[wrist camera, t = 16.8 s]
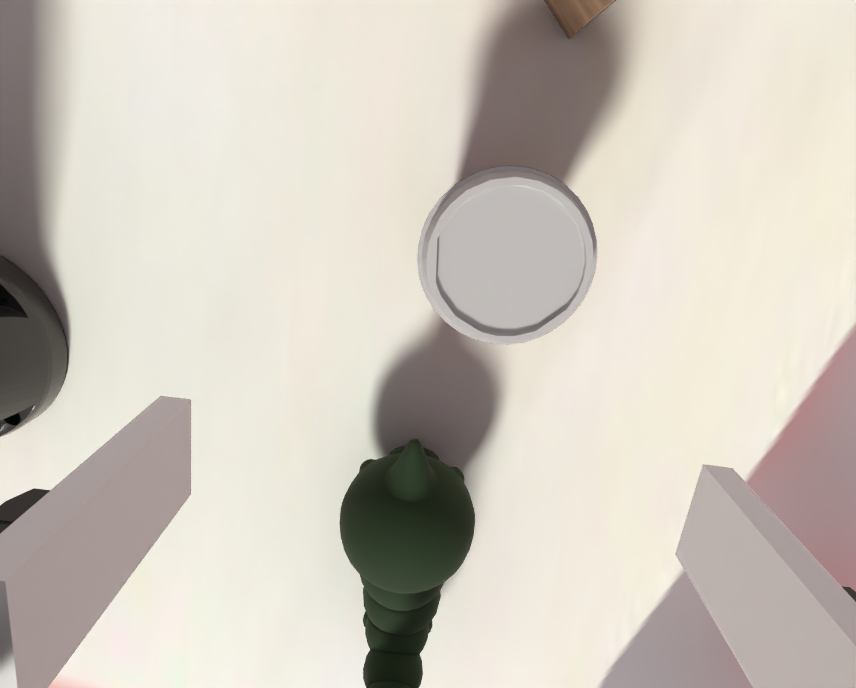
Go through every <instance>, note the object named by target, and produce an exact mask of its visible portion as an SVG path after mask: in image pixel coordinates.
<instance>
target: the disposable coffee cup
mask: <svg viewBox="0 0 856 688" xmlns="http://www.w3.org/2000/svg"><path fill="white" fill-rule="evenodd" d="M596 261H597V240H596V236H595V232H594V228H593V223H592V221H591V219H590V217H589V214H588V212H587V210H586V208H585V207H584V205H583V204H582V202H581V201H580V199H579V198H578V197H577V196H576V195H575V194H574V193H573V192H572V191H571V190H570V189H569V188H568V187H567V186H566V185H565V184H563V183H562V182H560V181H559V180H557V179H556V178H554V177H553V176H551V175H548V174H546V173H543V172H540V171H538V170H535V169H532V168H526V167H517V166H504V167H493V168H490V169H486V170H483V171H480V172H477V173H474V174H472V175H471V176H469V177H467V178H465V179H464V180H462V181H460V182H458V183H457V184H455V185H454V186H453V187H452V188H451V189H450V190H449V191H448V192H447V193H445V194H444V195H443V196H442V197H441V198H440V199H439V201H438V202H437V204H436V205H435V206H434V208H433V209H432V211H431V212H430V214H429V216H428V218H427V220H426V222H425V224H424V227H423V229H422V233H421V237H420V241H419V246H418V269H419V277H420V281H421V285H422V287H423V290H424V292H425V295H426V297H427V299H428V300H429V302H430V304H431V305H432V307H433V309H434V310H435V311H436V312H437V314H438V315H439V316H440V317H441V318H442V319H443V320H444V321H445V322H446V323H447V324H449V325H450V326H451V327H453V328H454V329H455V330H456V331H458V332H459V333H462V334H464V335H466V336H468V337H470V338H473V339H475V340H478V341H482V342H487V343H491V344H515V343H524V342H527V341H530V340H533V339H536V338H539V337H541V336H543V335H545V334H547V333H549V332H551V331H553V330H554V329H555V328H557V327H558V326H560V325H561V324H563V323H564V322H565V321H566V320H567V319H568V318H569V317H570V316H571V315H572V314H573V313H574V312H575V310H576V309H577V308H578V307H579V306H580V304H581V303H582V301H583V299H584V298H585V296H586V294H587V292H588V290H589V288H590V286H591V283H592V280H593V277H594V274H595V269H596Z"/></svg>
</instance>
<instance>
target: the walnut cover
mask: <svg viewBox="0 0 856 688" xmlns="http://www.w3.org/2000/svg"><path fill="white" fill-rule="evenodd" d="M544 1H545V2H546V4H547V5H548V7H549V8H550V10H551V11H552V13H553V15H554V16H555V18H556V19H557V21H558V22H559V24H560V26H561V27H562V29H563V30H564V32H565V33H566V35H567V36H568V38H570V37H572V36H573V35H574V34H575V33H577V32H578V31H579V30H580V29H581V28H583V27H584V26H585V25H586V24H588V23H589V22H590V21H591V20H592V19H594V18H595V17H596V16H597V15H599V14H600V13H601V12H602V11H603V10H605V9H606V8H607V7H608V6H610V5H611V4H612V3H613V2H614V1H616V0H544Z"/></svg>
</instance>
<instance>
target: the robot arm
mask: <svg viewBox="0 0 856 688" xmlns="http://www.w3.org/2000/svg"><path fill="white" fill-rule="evenodd" d="M66 368H67V347H66V341H65V336H64V332H63V329H62V326H61V323H60V321H59V318H58V316H57V314H56V312H55V310H54V308H53V307H52V305H51V303H50V302H49V300H48V299H47V297H46V296H45V294H44V293H43V292H42V290H41V289H40V288H39V287H38V286H37V284H36V283H35V282H34V281H33V280H32V279H31V278H30V277H29V276H28V275H27V274H25V273H24V272H23V271H22V270H21V269H20V268H18V267H17V266H16V265H14V264H13V263H11V262H10V261H9V260H7V259H5V258H4V257H2V256H0V437H1V436H4V435H6V434H9V433H11V432H13V431H15V430H17V429H19V428H20V427H22V426H23V425H25V424H27V423H28V422H30V421H31V420H33V419H34V418H36V417H37V416H39V415H40V414H41V413H43V412H44V411H45V410H46V409H47V408H48V407H49V406H50V405H51V404H52V402H53V401H54V400H55V398H56V397H57V395H58V393H59V391H60V389H61V387H62V385H63V382H64V379H65V374H66ZM190 495H191V400H189V399H181V398H174V397H166V396H160V397H159V398H158V399H157V400H155V401H154V402H153V403H152V404H151V405H150V406H148V407H147V408H146V409H145V410H144V411H143V412H141V413H140V414H139V415H138V416H137V417H136V418H134V419H133V420H132V421H131V422H130V423H129V424H127V425H126V426H125V427H124V428H123V429H122V430H120V431H119V432H118V433H117V434H116V435H115V436H113V437H112V438H111V439H110V440H109V441H108V442H106V443H105V444H104V445H103V446H102V447H101V448H99V449H98V450H97V451H96V452H95V453H94V454H92V455H91V456H90V457H89V458H88V459H87V460H86V461H84V462H83V463H82V464H81V465H80V466H79V467H77V468H76V469H75V470H74V471H73V472H72V473H70V474H69V475H68V476H67V477H66V478H65V479H63V480H62V481H61V482H60V483H59V484H58V485H56V486H55V487H54V488H53V489H52V490H51V491H50V490H42V489H32V490H29V491H27V492H25V493H23V494H21V495H19V496H16V497H14V498H12V499H10V500H8V501H6V502H4V503H3V504H2V505H1V506H0V688H48V687H49V685H50V684H51V683H52V681H53V680H54V678H55V677H56V676H57V674H58V673H59V672H60V670H61V669H62V668H63V666H64V665H65V664H66V662H67V661H68V660H69V658H70V657H71V655H72V654H73V653H74V651H75V650H76V649H77V647H78V646H79V645H80V643H81V642H82V641H83V639H84V638H85V637H86V635H87V634H88V632H89V631H90V630H91V628H92V627H93V626H94V624H95V623H96V622H97V620H98V619H99V618H100V616H101V615H102V614H103V612H104V611H105V609H106V608H107V607H108V605H109V604H110V603H111V601H112V600H113V599H114V597H115V596H116V595H117V593H118V592H119V591H120V589H121V588H122V587H123V585H124V584H125V582H126V581H127V580H128V578H129V577H130V576H131V574H132V573H133V572H134V570H135V569H136V568H137V566H138V565H139V564H140V562H141V561H142V559H143V558H144V557H145V555H146V554H147V553H148V551H149V550H150V549H151V547H152V546H153V545H154V543H155V542H156V541H157V539H158V538H159V536H160V535H161V534H162V532H163V531H164V530H165V528H166V527H167V526H168V524H169V523H170V522H171V520H172V519H173V518H174V516H175V515H176V513H177V512H178V511H179V509H180V508H181V507H182V505H183V504H184V503H185V501H186V500H187V499H188V497H189V496H190ZM676 556H677V558H678V560H679V561H680V563H681V565H682V566H683V568H684V570H685V572H686V573H687V575H688V577H689V578H690V580H691V582H692V584H693V585H694V587H695V589H696V591H697V592H698V594H699V596H700V597H701V599H702V601H703V602H704V604H705V606H706V608H707V609H708V611H709V613H710V615H711V616H712V618H713V620H714V621H715V623H716V625H717V627H718V628H719V630H720V632H721V633H722V635H723V637H724V638H725V640H726V642H727V644H728V645H729V647H730V649H731V650H732V652H733V654H734V656H735V657H736V659H737V661H738V663H739V664H740V666H741V668H742V669H743V671H744V673H745V675H746V676H747V678H748V680H749V681H750V683H751V685H752V687H753V688H856V592H855V591H854V590H852V589H851V588H849V587H842V586H840V584H839V583H838V582H837V581H836V580H835V579H834V578H833V577H832V576H831V575H830V573H829V572H828V571H827V570H826V569H825V568H824V567H823V566H822V565H821V564H820V563H819V562H818V560H817V559H816V558H815V557H814V556H813V555H812V554H811V553H810V552H809V551H808V550H807V549H806V547H805V546H804V545H803V544H802V543H801V542H800V541H799V540H798V539H797V538H796V537H795V536H794V534H793V533H791V531H790V530H789V529H788V528H787V527H786V526H785V525H784V524H783V523H782V522H781V520H779V518H778V517H777V516H776V515H775V514H774V513H773V512H772V511H771V510H770V509H769V507H768V506H767V505H766V504H765V503H764V502H763V501H762V500H761V499H760V498H759V497H758V496H757V494H756V493H755V492H754V491H753V490H752V489H751V488H750V487H749V486H748V485H747V484H746V482H745V481H744V480H743V479H742V478H741V477H740V476H739V475H738V474H737V473H736V472H735V471H734V469H733V468H727V467H719V466H711V465H703V466H702V469H701V472H700V476H699V479H698V482H697V485H696V489H695V492H694V495H693V498H692V502H691V505H690V508H689V511H688V515H687V518H686V521H685V524H684V528H683V531H682V534H681V537H680V541H679V544H678V547H677V550H676Z"/></svg>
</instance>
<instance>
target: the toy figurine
mask: <svg viewBox="0 0 856 688" xmlns="http://www.w3.org/2000/svg"><path fill="white" fill-rule="evenodd" d="M474 526H475V513H474V508H473V504H472V501H471V497H470V495H469V492H468V490H467V488H466V486H465V484H464V476H463V473H462V471H461V470H460V469H458V468H456V467H449V466H447V465H446V464H444V463H442V462H441V461H440V460H439V458H438V456H437V455H436V454H435V453H434V452H433V451H430V450H428V449H426V448H423V447H422V445H421V443H420V442H419V440H418V439H412V440H411V441H410V442H409V443H408V444H407V446H404V447H399V448H396V449H394V450H393V451H392V452H390V454H389V455H388V456H386V457H383V458H380V459H377V460H373V459H369V460H366V461H365V462H363V463H362V464H361V467H360V471H359V474H358V475H357V476H356V478H355V479H354V480H353V482H352V483H351V485H350V487H349V489H348V491H347V492H346V494H345V497H344V499H343V502H342V507H341V513H340V532H341V539H342V543H343V546H344V550H345V553H346V555H347V557H348V559H349V560H350V562H351V564H352V565H353V567H354V568H355V569H356V570H357V571H358V573H359V574H360V577H361V581H362V583H363V585H364V588H363V596H364V607H365V609H366V612H365V614H364V618H363V623H364V626H365V628H366V630H365V634H366V638H367V642H368V645H369V647H370V651H369V653H368V655H367V656H366V660H365V664H364V668H363V679H364V682H365V685H366V688H419V686H420V684H421V680H422V675H423V671H422V660H421V657H420V652H421V651H422V650H423V648H424V646H425V643H426V641H427V638H428V633H429V632H430V631H431V628H432V619H433V617H434V616H435V614H436V612H437V608H438V604H439V600H440V590H441V588H442V586H443V583H444V582H445V581H446V580H447V579H448V578H449V577H451V576H452V575H453V574H454V573H455V572H456V571H457V570H458V568H459V567H460V566H461V564H462V563H463V561H464V559H465V557H466V555H467V553H468V551H469V549H470V546H471V542H472V539H473V535H474Z"/></svg>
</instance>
